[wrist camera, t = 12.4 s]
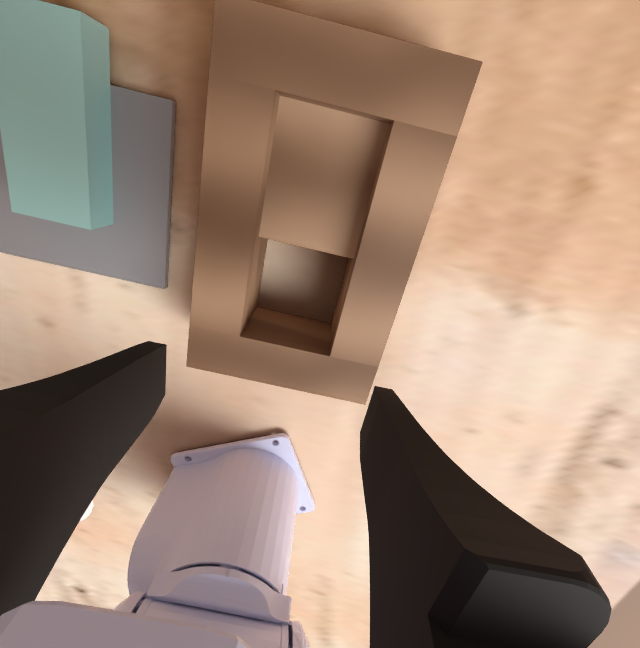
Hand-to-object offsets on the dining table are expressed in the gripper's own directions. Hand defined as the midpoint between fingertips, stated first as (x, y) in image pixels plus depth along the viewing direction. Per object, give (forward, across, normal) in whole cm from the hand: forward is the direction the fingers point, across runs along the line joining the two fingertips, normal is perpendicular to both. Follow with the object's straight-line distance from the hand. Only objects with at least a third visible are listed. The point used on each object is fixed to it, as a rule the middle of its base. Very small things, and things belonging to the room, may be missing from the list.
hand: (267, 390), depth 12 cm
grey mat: (+10, +13, -4) cm, 17 cm away
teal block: (+10, +13, -6) cm, 18 cm away
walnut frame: (+10, 0, -4) cm, 11 cm away
